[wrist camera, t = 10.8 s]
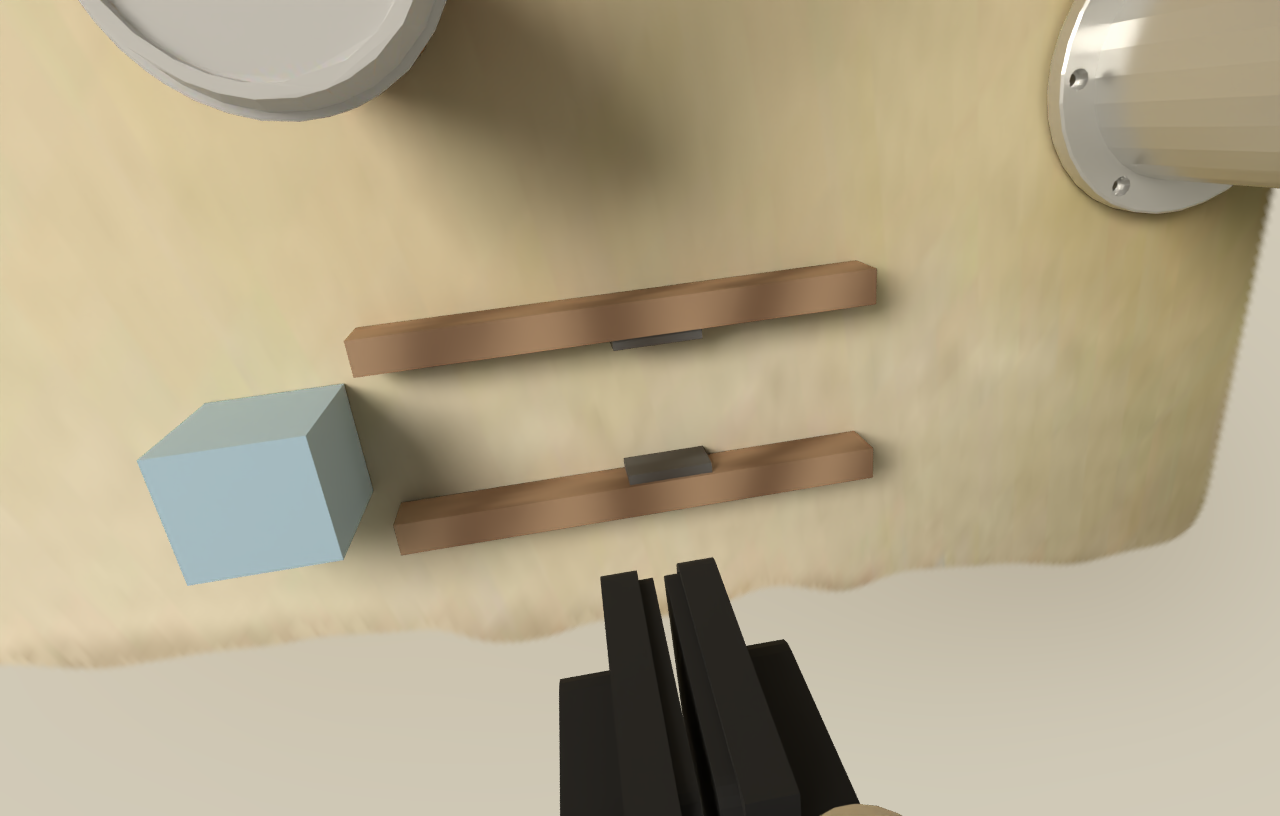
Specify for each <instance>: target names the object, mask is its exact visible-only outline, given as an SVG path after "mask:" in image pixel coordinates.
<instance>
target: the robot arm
mask: <svg viewBox="0 0 1280 816" xmlns="http://www.w3.org/2000/svg"><path fill="white" fill-rule="evenodd" d="M1047 102H1048V121H1049V126H1050V131H1051V136H1052V141H1053V145H1054V147H1055V149H1056V152H1057V154H1058V156H1059V159H1060V161H1061V163H1062V166H1063V167H1064V169H1065V170H1066V172H1067V173H1068V174H1069V176H1070V177H1071V178H1072V180H1073V181H1074V183H1075V184H1076V185H1077V186H1078V187H1079V188H1081V189H1082V190H1083V191H1084V192H1085V193H1087V194H1088V195H1089V196H1090V197H1091V198H1093V199H1095V200H1097V201H1099V202H1101V203H1103V204H1105V205H1107V206H1109V207H1111V208H1116V209H1121V210H1126V211H1131V212H1140V213H1152V214H1160V213H1168V212H1175V211H1181V210H1184V209H1187V208H1190V207H1193V206H1196V205H1199V204H1202V203H1204V202H1206V201H1208V200H1210V199H1212V198H1213V197H1215V196H1217V195H1219V194H1221V193H1223V192H1225V191H1226V190H1228V189H1229V188H1230V187H1232V186H1233V185H1241V186H1254V187H1267V188H1280V0H1074V2H1073V4H1072V6H1071V8H1070V10H1069V13H1068V15H1067V17H1066V19H1065V21H1064V23H1063V25H1062V28H1061V30H1060V33H1059V36H1058V40H1057V43H1056V46H1055V50H1054V53H1053V57H1052V60H1051V67H1050V74H1049V81H1048V88H1047ZM600 579H601V589H602V599H603V609H604V619H605V629H606V639H607V649H608V658H609V669H610V670H609V671H604V672H598V673H593V674H587V675H581V676H576V677H570V678H565V679H560V685H559V725H560V728H559V729H560V816H902V815H900V814H898V813H896V812H893V811H890V810H887V809H884V808H882V807H879V806H873V805H863V804H860V803H859V800H858V798H857V796H856V794H855V791H854V789H853V787H852V785H851V782H850V780H849V778H848V776H847V773H846V771H845V769H844V767H843V765H842V762H841V760H840V758H839V756H838V753H837V751H836V749H835V747H834V744H833V742H832V740H831V738H830V736H829V733H828V731H827V729H826V727H825V724H824V722H823V720H822V718H821V715H820V713H819V711H818V709H817V707H816V704H815V702H814V700H813V698H812V695H811V693H810V691H809V689H808V686H807V684H806V682H805V680H804V678H803V675H802V673H801V671H800V669H799V666H798V664H797V662H796V660H795V657H794V655H793V653H792V651H791V649H790V647H789V645H788V643H787V642H786V641H785V640H784V639H783V640H777V641H771V642H766V643H761V644H754V645H749V646H746V644H745V641H744V639H743V636H742V634H741V631H740V628H739V625H738V622H737V620H736V617H735V614H734V611H733V609H732V606H731V603H730V600H729V598H728V595H727V592H726V590H725V587H724V584H723V581H722V579H721V576H720V573H719V570H718V568H717V565H716V562H715V560H714V558H713V557H712V558H706V559H700V560H694V561H689V562H683V563H677V574H672V575H667V576H664V581H665V588H666V596H667V603H668V611H669V618H670V625H671V633H672V640H673V648H674V655H675V663H676V670H677V677H678V684H679V692H680V700H681V706H682V711H681V706H680V702H679V697H678V693H677V688H676V683H675V678H674V674H673V669H672V664H671V660H670V655H669V651H668V646H667V641H666V637H665V632H664V628H663V623H662V618H661V613H660V609H659V604H658V600H657V595H656V590H655V586H654V581H653V578H649V579H643V580H638V575H637V570H636V571H630V572H624V573H619V574H613V575H607V576H601V577H600ZM682 714H683V715H682Z"/></svg>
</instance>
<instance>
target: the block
mask: <svg viewBox="0 0 1280 816" xmlns="http://www.w3.org/2000/svg"><path fill="white" fill-rule="evenodd" d="M137 463H138V465H139V468H140V470H141V473H142V475H143V478H144V480H145V482H146V485H147V487H148V490H149V492H150V495H151V497H152V500H153V502H154V505H155V507H156V510H157V512H158V514H159V517H160V519H161V522H162V524H163V527H164V529H165V532H166V534H167V537H168V539H169V542H170V544H171V546H172V549H173V551H174V554H175V556H176V559H177V561H178V564H179V566H180V569H181V571H182V574H183V576H184V578H185V581H186V583H187V586H189V585H195V584H201V583H207V582H213V581H219V580H225V579H231V578H237V577H243V576H249V575H255V574H261V573H268V572H274V571H280V570H286V569H292V568H298V567H304V566H310V565H316V564H322V563H328V562H334V561H340V560H344V557H345V555H346V553H347V550H348V548H349V546H350V544H351V541H352V539H353V537H354V534H355V532H356V530H357V527H358V525H359V523H360V520H361V518H362V516H363V513H364V511H365V509H366V507H367V504H368V502H369V500H370V497H371V495H372V493H373V488H372V485H371V481H370V477H369V474H368V470H367V466H366V463H365V459H364V455H363V452H362V448H361V444H360V441H359V437H358V433H357V430H356V426H355V423H354V419H353V415H352V412H351V408H350V404H349V401H348V397H347V393H346V390H345V386H344V384H337V385H330V386H323V387H316V388H309V389H302V390H295V391H288V392H281V393H274V394H267V395H260V396H253V397H246V398H239V399H232V400H225V401H217V402H210V403H205V404H204V405H202V406H201V407H200V408H199V409H198V410H196V411H195V412H194V413H193V414H192V415H190V416H189V417H188V418H187V419H186V420H185V421H183V422H182V423H181V424H180V425H179V426H177V427H176V428H175V429H174V430H173V431H171V432H170V433H169V434H168V435H167V436H165V437H164V438H163V439H162V440H161V441H160V442H158V443H157V444H156V445H155V446H154V447H152V448H151V449H150V450H149V451H148V452H146V453H145V454H144V455H143V456H142V457H140V458H139V459H138V460H137Z"/></svg>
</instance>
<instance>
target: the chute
mask: <svg viewBox="0 0 1280 816" xmlns="http://www.w3.org/2000/svg"><path fill="white" fill-rule="evenodd" d="M876 283H877V269H876V268H874V267H871V266H869V265H866V264H864V263H861V262H859V261H856V260H855V261H848V262H840V263H833V264H826V265H818V266H811V267H803V268H796V269H788V270H781V271H774V272H766V273H759V274H751V275H744V276H736V277H729V278H722V279H714V280H707V281H699V282H692V283H684V284H677V285H670V286H662V287H655V288H647V289H640V290H632V291H625V292H618V293H610V294H603V295H595V296H588V297H580V298H573V299H566V300H558V301H551V302H543V303H536V304H528V305H521V306H514V307H506V308H499V309H491V310H484V311H476V312H469V313H462V314H454V315H447V316H439V317H432V318H424V319H417V320H410V321H402V322H395V323H387V324H380V325H372V326H365V327H358V328H355V329H354V330H353V332H352V333H351V334H350V335H349V336H348V337H347V338H346V339H345V341H344V343H345V347H346V351H347V355H348V358H349V362H350V366H351V370H352V373H353V377H354V378H356V377H363V376H370V375H377V374H384V373H391V372H398V371H405V370H412V369H419V368H426V367H433V366H441V365H448V364H455V363H462V362H469V361H476V360H483V359H490V358H497V357H504V356H511V355H519V354H526V353H533V352H540V351H547V350H554V349H561V348H568V347H575V346H582V345H589V344H596V343H604V342H610V343H611V345H612V348H613V351H616V350H623V349H630V348H637V347H644V346H651V345H658V344H665V343H672V342H679V341H686V340H693V339H700V338H702V329H703V328H710V327H717V326H724V325H731V324H738V323H745V322H752V321H759V320H767V319H774V318H781V317H788V316H795V315H802V314H809V313H816V312H823V311H830V310H837V309H845V308H852V307H859V306H866V305H873V304H876ZM624 464H625V467H623V468H617V469H611V470H604V471H598V472H592V473H585V474H579V475H573V476H566V477H560V478H554V479H547V480H541V481H535V482H528V483H522V484H516V485H510V486H503V487H497V488H491V489H484V490H478V491H472V492H465V493H459V494H453V495H446V496H440V497H434V498H427V499H421V500H415V501H408V502H402V503H401V505H400V508H399V511H398V513H397V516H396V519H395V522H394V525H393V526H394V530H395V534H396V538H397V541H398V545H399V549H400V553H401V555H406V554H412V553H418V552H424V551H430V550H436V549H442V548H448V547H455V546H461V545H467V544H473V543H479V542H485V541H491V540H497V539H503V538H509V537H515V536H521V535H527V534H533V533H539V532H545V531H551V530H557V529H563V528H569V527H576V526H582V525H588V524H594V523H600V522H606V521H612V520H618V519H624V518H630V517H636V516H642V515H648V514H654V513H660V512H666V511H672V510H678V509H684V508H690V507H697V506H703V505H709V504H715V503H721V502H727V501H733V500H739V499H745V498H751V497H757V496H763V495H769V494H775V493H781V492H787V491H793V490H799V489H805V488H811V487H817V486H824V485H830V484H836V483H842V482H848V481H854V480H860V479H866V478H872V477H873V448H872V447H871V446H870V445H869V444H868V443H867V442H866V441H865V440H864V439H863V438H861V437H860V436H859V435H858V434H857V433H856V432H855V431H850V432H844V433H838V434H832V435H825V436H819V437H813V438H806V439H800V440H794V441H787V442H781V443H775V444H768V445H762V446H756V447H749V448H743V449H737V450H730V451H724V452H718V453H712V454H706V452H705V450H704V448H703V446H699V447H692V448H686V449H679V450H673V451H667V452H660V453H654V454H648V455H641V456H635V457H629V458H624Z"/></svg>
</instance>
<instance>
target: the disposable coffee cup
mask: <svg viewBox="0 0 1280 816" xmlns="http://www.w3.org/2000/svg"><path fill="white" fill-rule="evenodd" d="M78 1H79V2H80V3H81V5H82V6H83V7H84V9H85V10H86V11H87V13H88V14H89V15H90V17H91V18H92V19H93V21H94V22H95V23H96V24H97V25H98V26H99V27H100V28H101V30H102V31H103V32H104V33H105V34H106V35H107V36H108V37H109V38H110V39H111V40H112V41H113V42H114V44H115V45H116V46H117V47H118V48H119V49H120V50H121V51H122V52H124V53H125V54H126V55H127V56H128V57H130V58H131V59H132V60H133V61H134V62H136V63H137V64H138V65H139V66H140V67H142V68H143V69H144V70H145V71H147V72H148V73H149V74H151V75H152V76H154V77H155V78H157V79H158V80H159V81H161V82H162V83H164V84H165V85H167V86H169V87H171V88H173V89H174V90H176V91H178V92H180V93H181V94H183V95H185V96H187V97H189V98H190V99H192V100H194V101H197V102H200V103H202V104H205V105H207V106H210V107H213V108H215V109H218V110H221V111H223V112H226V113H229V114H233V115H238V116H243V117H247V118H252V119H256V120H261V121H297V122H301V121H307V120H313V119H319V118H325V117H331V116H334V115H337V114H340V113H343V112H347V111H350V110H352V109H354V108H357V107H359V106H361V105H362V104H364V103H366V102H368V101H370V100H372V99H373V98H375V97H377V96H379V95H380V94H381V93H383V92H384V91H385V90H387V89H388V88H389V87H390V86H391V85H392V84H393V83H395V82H396V81H397V80H398V79H399V78H400V77H402V76H403V75H404V74H405V73H406V72H407V71H409V70H410V68H411V67H412V65H413V64H414V62H415V61H416V59H417V58H418V57H419V56H420V54H421V53H422V52H423V51H424V49H425V47H426V45H427V43H428V41H429V40H430V38H431V37H432V35H433V34H434V32H435V30H436V27H437V25H438V22H439V20H440V17H441V14H442V12H443V9H444V6H445V4H446V1H447V0H78Z"/></svg>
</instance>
